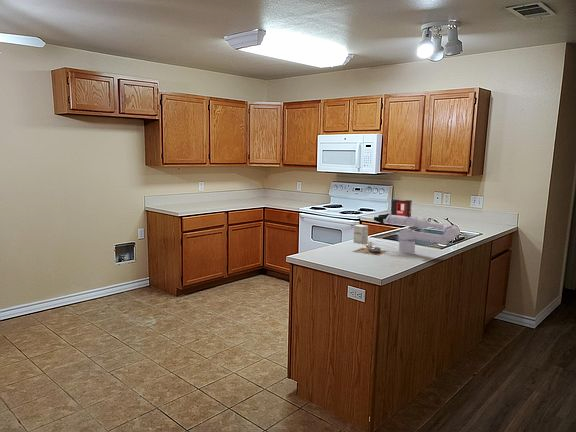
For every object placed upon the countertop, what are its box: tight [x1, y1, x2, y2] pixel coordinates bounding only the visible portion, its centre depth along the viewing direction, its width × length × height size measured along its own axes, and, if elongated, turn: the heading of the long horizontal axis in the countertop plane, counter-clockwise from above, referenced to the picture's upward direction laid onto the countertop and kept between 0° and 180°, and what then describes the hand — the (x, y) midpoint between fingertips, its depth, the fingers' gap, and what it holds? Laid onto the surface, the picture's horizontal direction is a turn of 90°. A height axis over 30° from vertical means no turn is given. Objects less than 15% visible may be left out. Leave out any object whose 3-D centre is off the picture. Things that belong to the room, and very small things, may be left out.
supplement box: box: [353, 224, 369, 245], centre depth 305 cm, size 7×7×13 cm
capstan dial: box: [365, 240, 382, 253], centre depth 275 cm, size 14×7×5 cm, turn 17°
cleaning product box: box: [390, 199, 413, 217], centre depth 406 cm, size 16×9×20 cm, turn 65°
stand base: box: [352, 247, 389, 257], centre depth 274 cm, size 18×15×1 cm
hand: (376, 217), depth 282 cm, fingers open, 7 cm apart
